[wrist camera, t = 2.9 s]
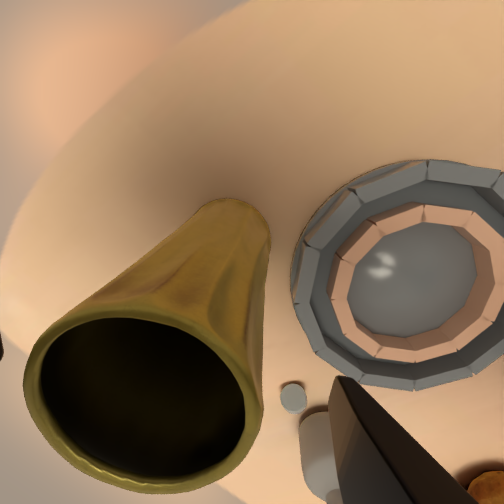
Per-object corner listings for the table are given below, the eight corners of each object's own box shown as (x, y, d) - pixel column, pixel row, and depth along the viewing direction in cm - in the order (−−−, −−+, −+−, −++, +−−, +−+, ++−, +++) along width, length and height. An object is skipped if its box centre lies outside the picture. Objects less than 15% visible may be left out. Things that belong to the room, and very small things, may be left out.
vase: (219, 292, 21) (130, 535, 7) (170, 228, 19) (-61, 374, 6) (286, 252, 19) (337, 452, 6) (239, 180, 18) (156, 217, 4)
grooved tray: (567, 178, 17) (615, 179, 15) (470, 381, 22) (494, 406, 20) (313, 144, 17) (320, 140, 15) (274, 353, 22) (275, 375, 20)
